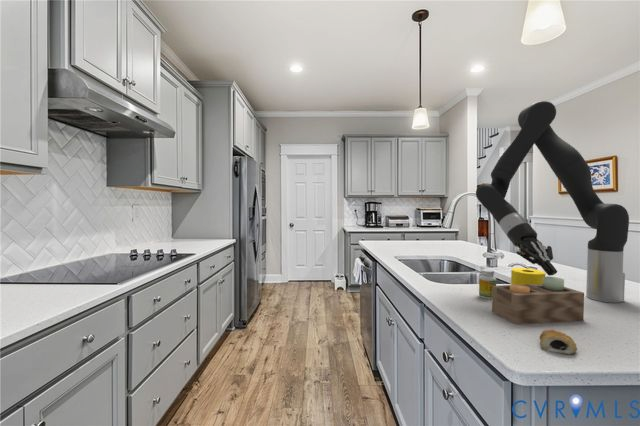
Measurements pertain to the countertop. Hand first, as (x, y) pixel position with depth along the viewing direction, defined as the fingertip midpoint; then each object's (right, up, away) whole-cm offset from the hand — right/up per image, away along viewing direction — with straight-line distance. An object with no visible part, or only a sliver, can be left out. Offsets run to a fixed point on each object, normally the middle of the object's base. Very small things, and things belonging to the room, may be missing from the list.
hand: (553, 273), depth 93 cm
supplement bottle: (-10, -12, +18) cm, 24 cm away
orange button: (-11, -7, -1) cm, 13 cm away
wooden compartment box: (-5, -12, 0) cm, 13 cm away
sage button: (0, -4, 0) cm, 4 cm away
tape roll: (+4, -12, +18) cm, 22 cm away
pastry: (-14, -13, -20) cm, 28 cm away
